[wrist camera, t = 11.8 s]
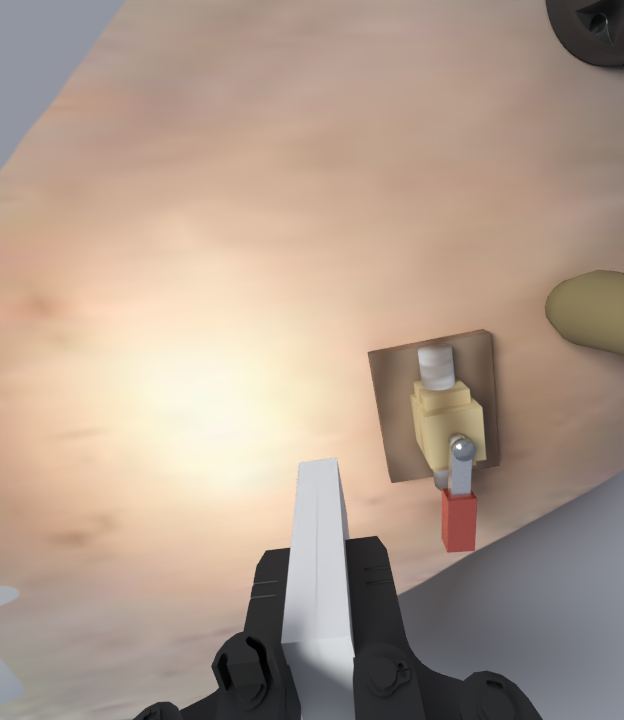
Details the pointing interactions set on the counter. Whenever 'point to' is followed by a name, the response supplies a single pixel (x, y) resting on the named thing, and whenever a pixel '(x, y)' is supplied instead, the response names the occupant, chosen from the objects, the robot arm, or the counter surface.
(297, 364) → the counter surface
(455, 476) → the lever
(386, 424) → the valve board
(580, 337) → the squeeze bottle
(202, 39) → the counter surface
